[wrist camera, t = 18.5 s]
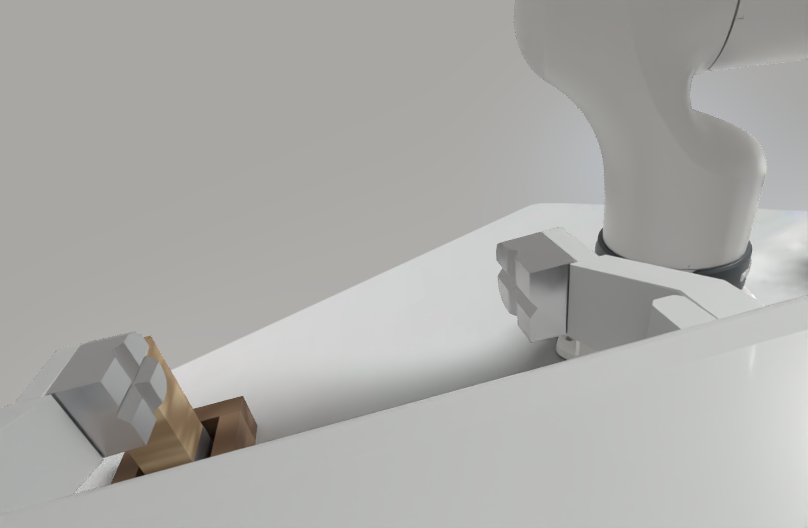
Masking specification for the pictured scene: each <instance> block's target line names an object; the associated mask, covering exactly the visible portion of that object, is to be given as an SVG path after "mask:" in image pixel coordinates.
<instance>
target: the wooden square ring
mask: <svg viewBox="0 0 808 528" xmlns="http://www.w3.org/2000/svg"><path fill="white" fill-rule="evenodd" d="M193 410H194V412H195V413H196V415H197V417H198V419H199V420H200V422H201V424H202V425H203V426H204V427H205V429H206V431H207V432H208V434H209V436H210V438H211V439H212V441H213V443H214V444H213V448H212V453H211V457H213V456H217V455H221V454H224V453H228V452H232V451H235V450H239V449H243V448H246V447H250V446H254V445H255V440H256V432H257V424H256V422H255V420H254V418H253V416H252V414H251V412H250V410H249V408H248V406H247V403H246V401H245V399H244V397H243V396H241V397H237V398H233V399H229V400H226V401H222V402H218V403H214V404H210V405H207V406H203V407H199V408H195V409H193ZM143 475H145V474H144V473H143V471H142V470H141V469H140V467H139V466H138V464H137V463H136V462H135V460H134V459H133V458H132V456H131V455H130V454H129V452H128V451H125V453H124V455H123V457H122V460H121V462H120V464H119V467H118V469H117V471H116V474H115V476H114V478H113V481H112V483H111V484H114V483H118V482H121V481H125V480H129V479H132V478H136V477H140V476H143Z"/></svg>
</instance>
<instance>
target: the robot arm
mask: <svg viewBox="0 0 808 528" xmlns="http://www.w3.org/2000/svg"><path fill="white" fill-rule="evenodd" d="M514 27H515V34H516V39H517V42H518V45H519V48H520V50H521V53H522V55H523V57H524V59H525V60H526V62H527V63H528V65H529V66H530V68H531V69H532V70H533V71H534V72H535V73H536V74H537V75H538V76H539V77H540V78H542V79H543V80H544V81H546V82H548V83H549V84H551V85H552V86H554V87H556V88H557V89H558V90H560V91H561V92H562V93H564V94H565V95H566V96H567V97H568V98H569V99H570V100H571V101H572V102H573V103H574V104H575V105H576V106H577V107H578V108H579V109H580V111H581V112H582V113H583V114H584V116H585V117H586V119H587V120H588V122H589V123H590V125H591V127H592V129H593V131H594V133H595V135H596V138H597V140H598V143H599V146H600V149H601V153H602V158H603V165H604V185H605V186H604V187H605V188H604V190H605V201H604V221H603V228H602V229H601V231H600V232H599V235H598V240H597V242H596V246H595V253H594V252H593V251H592V250H591V249H589V248H588V247H587V246H585V245H584V244H583V243H581V242H580V241H579V240H578V239H576V238H575V237H574V236H572V235H571V234H570V233H568V232H567V231H566V230H565V229H563V228H560V227H557V228H553V229H550V230H546V231H543V232H539V233H535V234H531V235H528V236H524V237H520V238H516V239H513V240H509V241H505V242H502V243H499V244H497V249H496V257H497V261H498V263H499V264H500V265H501V266H502V270H501V272H500V273H499V275H498V285H499V291H500V295H501V298H502V301H503V303H504V305H505V307H506V309H507V310H508V312H509V313H510V314H513V315H515V316H517V319H518V326H519V327H520V329H521V330H522V331H523V333H524V334H525V335H526V337H527V338H528V340H529V341H530V342H531V343H532V342H536V341H540V340H545V339H549V338H553V337H557V336H559V337H558V340H557V345H556V352H557V353H558V354H559V355H560V356H562V357H563V358H565V359H567V360H566V361H562V362H558V363H555V364H551V365H547V366H544V367H540V368H536V369H533V370H529V371H525V372H522V373H518V374H514V375H511V376H507V377H503V378H500V379H496V380H492V381H489V382H485V383H481V384H478V385H474V386H470V387H467V388H463V389H459V390H456V391H452V392H448V393H445V394H441V395H437V396H434V397H430V398H426V399H423V400H419V401H415V402H412V403H408V404H404V405H401V406H397V407H393V408H390V409H386V410H382V411H379V412H375V413H371V414H368V415H364V416H360V417H357V418H353V419H349V420H346V421H342V422H338V423H335V424H331V425H327V426H323V427H320V428H316V429H312V430H309V431H305V432H301V433H298V434H294V435H290V436H287V437H283V438H279V439H276V440H272V441H268V442H265V443H261V444H257V445H254V446H250V447H246V448H243V449H239V450H235V451H232V452H228V453H224V454H221V455H217V456H213V457H210V458H206V459H202V460H199V461H195V462H191V463H188V464H184V465H180V466H177V467H173V468H169V469H165V470H162V471H158V472H154V473H151V474H147V475H143V476H140V477H136V478H132V479H129V480H125V481H121V482H118V483H114V484H110V485H107V486H103V487H99V488H96V489H92V490H88V491H85V492H81V493H77V494H74V492H75V491H76V490H77V489H78V488H79V487H80V486H81V485H82V483H83V482H84V481H85V480H86V479H87V478H88V477H89V476H90V475H91V473H92V472H93V471H94V470H95V469H96V468H97V467H98V466H99V465H100V463H101V462H102V461H103V460H104V459H103V458H104V457H108V456H111V455H115V454H118V453H121V452H125V451H128V450H132V449H135V448H138V447H142V446H145V445H147V442H148V440H149V437H150V435H151V432H152V430H153V427H154V425H155V422H156V420H157V419H156V418H155V416H154V415H153V412H154V411H155V410H156V409H157V408H158V407H159V406H160V405H161V404H162V403H163V401H164V399H165V396H166V393H167V380H166V377H165V373H164V370H163V368H162V367H161V365H160V363H159V362H158V361H157V360H155V359H153V358H151V357H149V356H147V352H148V349H149V345H148V344H147V342H146V341H145V339H144V338H143V336H142V335H141V334H139V333H136V332H130V333H126V334H121V335H117V336H112V337H108V338H103V339H99V340H95V341H91V342H87V343H80V344H76V345H73V346H69V347H65V348H62V349H59V350H57V351H55V353H54V354H53V355H52V356H51V358H50V359H49V360H48V361H47V363H46V364H45V365H44V366H43V368H42V369H41V370H40V372H39V373H38V374H37V375H36V376H35V378H34V379H33V381H32V382H31V383H30V384H29V385H28V387H27V388H26V389H25V390H24V392H23V393H22V394H21V395H20V397H19V398H18V399H17V400H16V402H15V403H14V404H10V405H7V406H4V407H3V408H1V409H0V528H808V295H805V296H801V297H798V298H794V299H790V300H787V301H783V302H779V303H776V304H772V305H768V306H766V305H765V304H763V303H761V302H760V301H758V300H756V298H755V296H754V295H751V293H750V291H749V290H748V289H747V288H746V287H745V286H744V283H745V280H746V277H747V275H748V274H749V271H750V266H751V254H752V245H751V243H750V241H749V237H750V233H751V230H752V226H753V222H754V218H755V214H756V211H757V206H758V203H759V199H760V195H761V191H762V187H763V184H764V179H765V176H766V172H767V164H766V158H765V155H764V152H763V149H762V147H761V146H760V144H759V143H758V141H757V140H756V139H755V138H754V137H753V136H752V135H750V134H749V133H748V132H746V131H745V130H743V129H741V128H739V127H737V126H735V125H733V124H731V123H729V122H726V121H724V120H721V119H719V118H716V117H713V116H711V115H708V114H705V113H702V112H699V111H696V110H694V109H692V107H691V102H690V88H691V81H692V78H693V76H694V75H696V74H701V73H704V72H705V71H714V70H722V69H730V68H739V67H747V66H756V65H763V64H772V63H781V62H789V61H797V60H805V59H808V0H515V6H514ZM73 494H74V495H73Z"/></svg>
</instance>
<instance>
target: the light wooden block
mask: <svg viewBox="0 0 808 528" xmlns="http://www.w3.org/2000/svg"><path fill="white" fill-rule="evenodd" d="M144 339H145V341H146V342H147V344H148V345H149V349H148V352H147V356H149V357H151V358H153V359H155V360H157V361H158V362H159V363H160V365H161V367H162V368H163V370H164V373H165V377H166V380H167V393H166V396H165V399H164V401H163V403H162V404H161V405H160V406H159V407H158V408H157V409H156V410H155V411H154V412H153V415H154V416H155V418H156V419H157V420H156V422H155V425H154V427H153V430H152V432H151V435H150V437H149V440H148V442H147V445H145V446H142V447H138V448H135V449H132V450H128V452H129V454H130V455H131V456H132V458H133V459H134V460H135V462H136V463H137V464H138V466H139V467H140V469H141V470H142V471H143V473H144V474H145V475H147V474H151V473H154V472H158V471H162V470H165V469H169V468H173V467H177V466H180V465H184V464H188V463H191V462H195V461H199V460H202V459H206V458H210V457H211V453H212V448H213V444H214V443H213V441H212V439H211V438H210V436H209V434H208V432H207V431H206V429H205V427H204V426H203V425H202V424H201V422H200V420H199V419H198V417H197V415H196V413H195V412H194V410H193V408H192V406H191V405H190V403H189V401H188V399H187V398H186V396H185V394H184V393H183V391H182V389H181V387H180V386H179V384H178V382H177V380H176V379H175V377H174V375H173V374H172V372H171V370H170V368H169V367H168V365H167V363H166V362H165V360H164V358H163V356H162V355H161V353H160V351H159V349H158V348H157V346H156V344H155V343H154V341H153V339H152V337H151V336H148V337H144Z"/></svg>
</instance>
